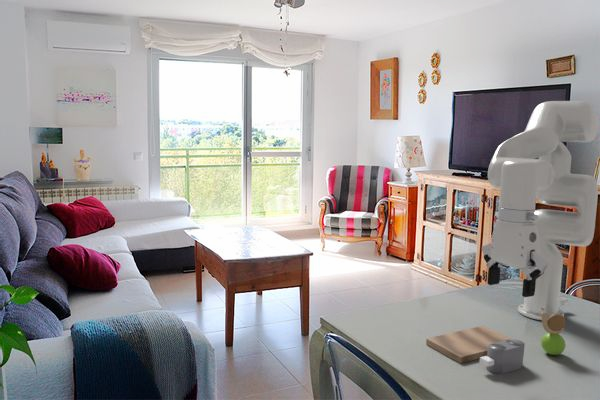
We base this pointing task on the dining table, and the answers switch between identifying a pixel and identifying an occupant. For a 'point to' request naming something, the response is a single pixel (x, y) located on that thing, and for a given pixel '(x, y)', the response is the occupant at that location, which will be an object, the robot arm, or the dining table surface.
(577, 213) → the robot arm
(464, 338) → the walnut board
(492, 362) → the block
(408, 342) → the dining table surface
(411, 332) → the dining table surface
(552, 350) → the snail figurine
